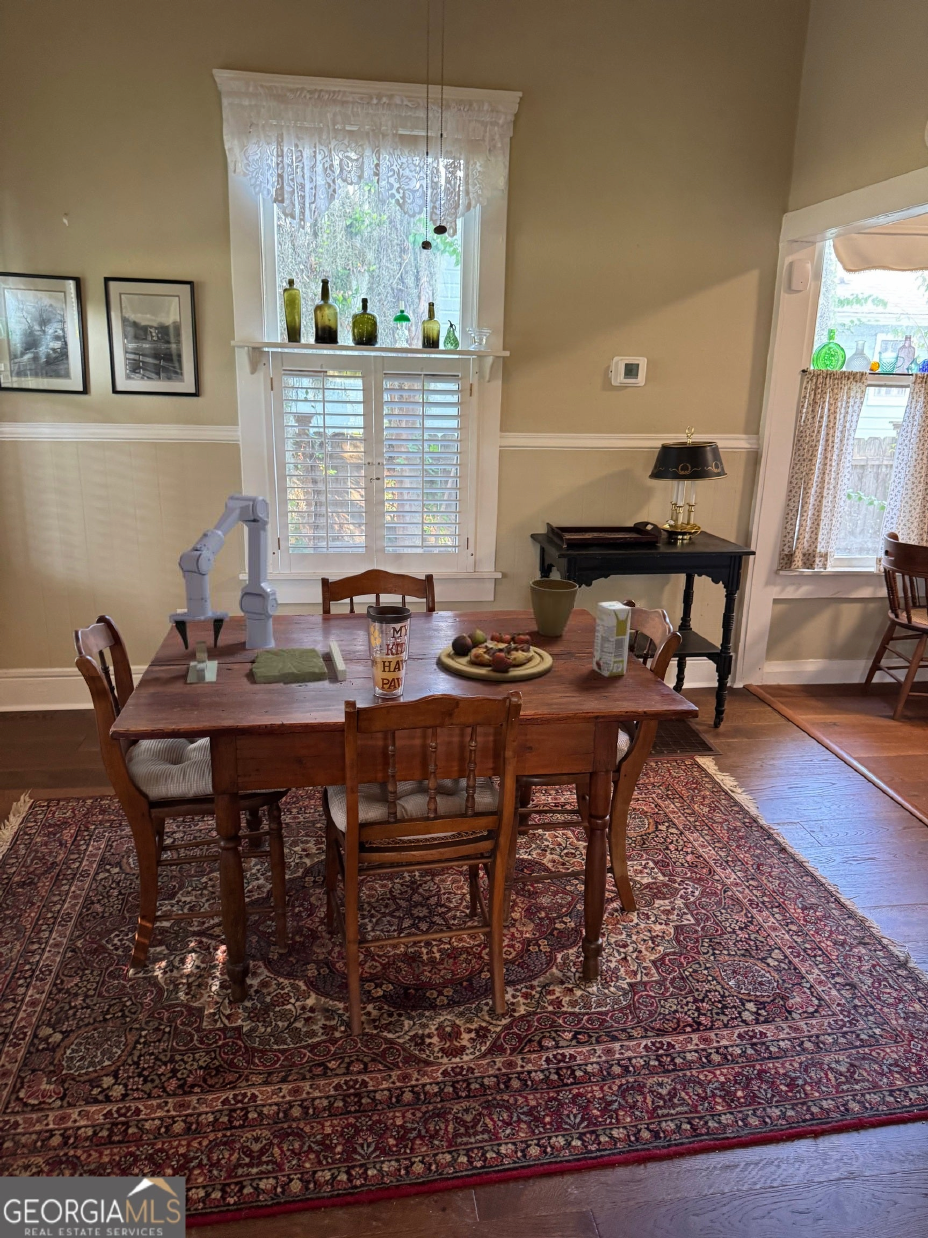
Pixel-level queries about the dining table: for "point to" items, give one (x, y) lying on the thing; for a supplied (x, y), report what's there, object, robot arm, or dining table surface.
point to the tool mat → (209, 675)
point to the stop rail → (337, 661)
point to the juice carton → (611, 638)
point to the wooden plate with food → (495, 657)
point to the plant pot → (552, 604)
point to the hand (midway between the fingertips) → (201, 647)
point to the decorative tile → (289, 666)
